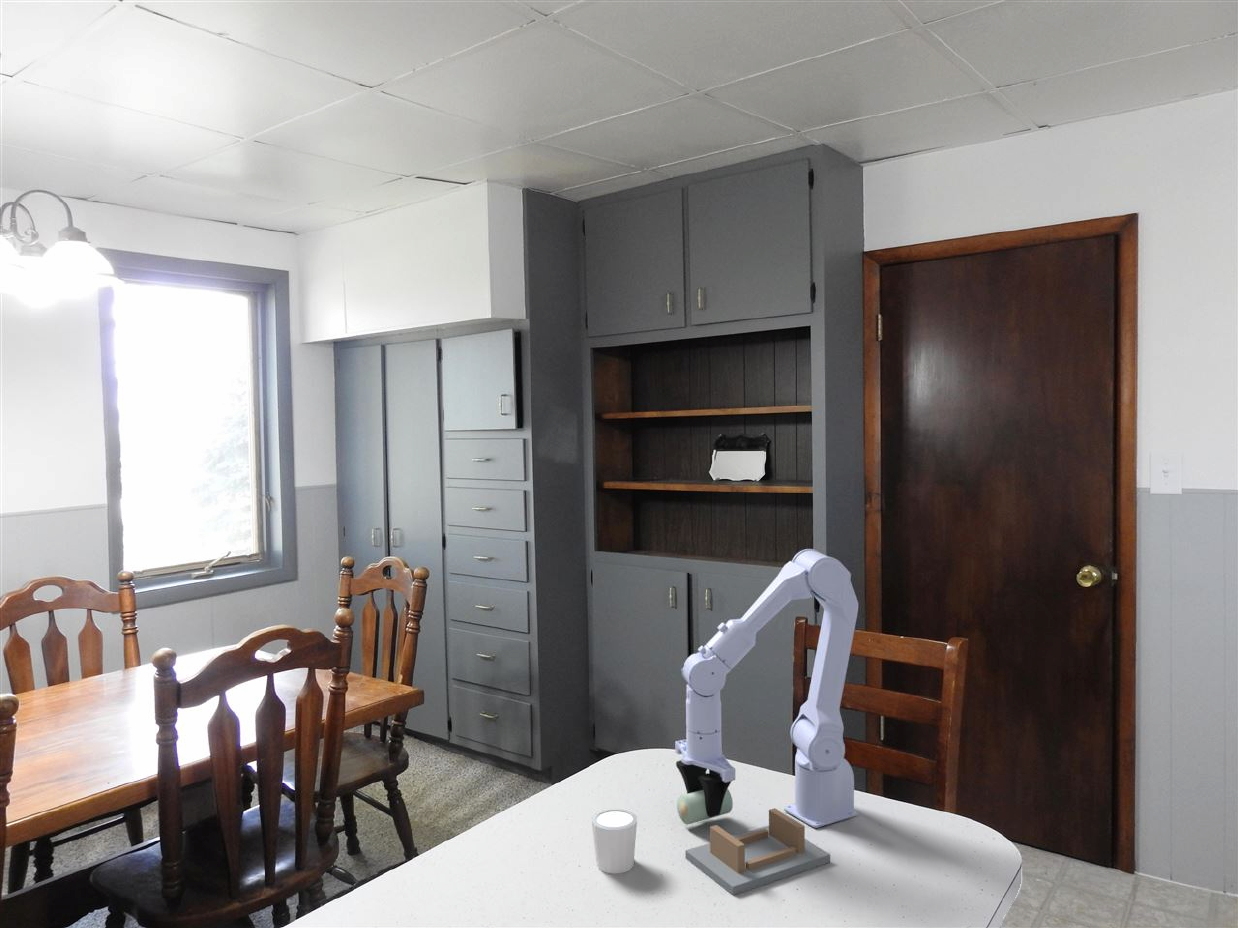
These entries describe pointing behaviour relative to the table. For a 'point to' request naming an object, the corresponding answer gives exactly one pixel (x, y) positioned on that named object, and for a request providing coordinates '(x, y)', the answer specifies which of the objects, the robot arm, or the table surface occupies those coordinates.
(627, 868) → the white cup
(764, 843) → the holder
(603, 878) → the table surface
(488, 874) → the table surface
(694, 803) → the roll
